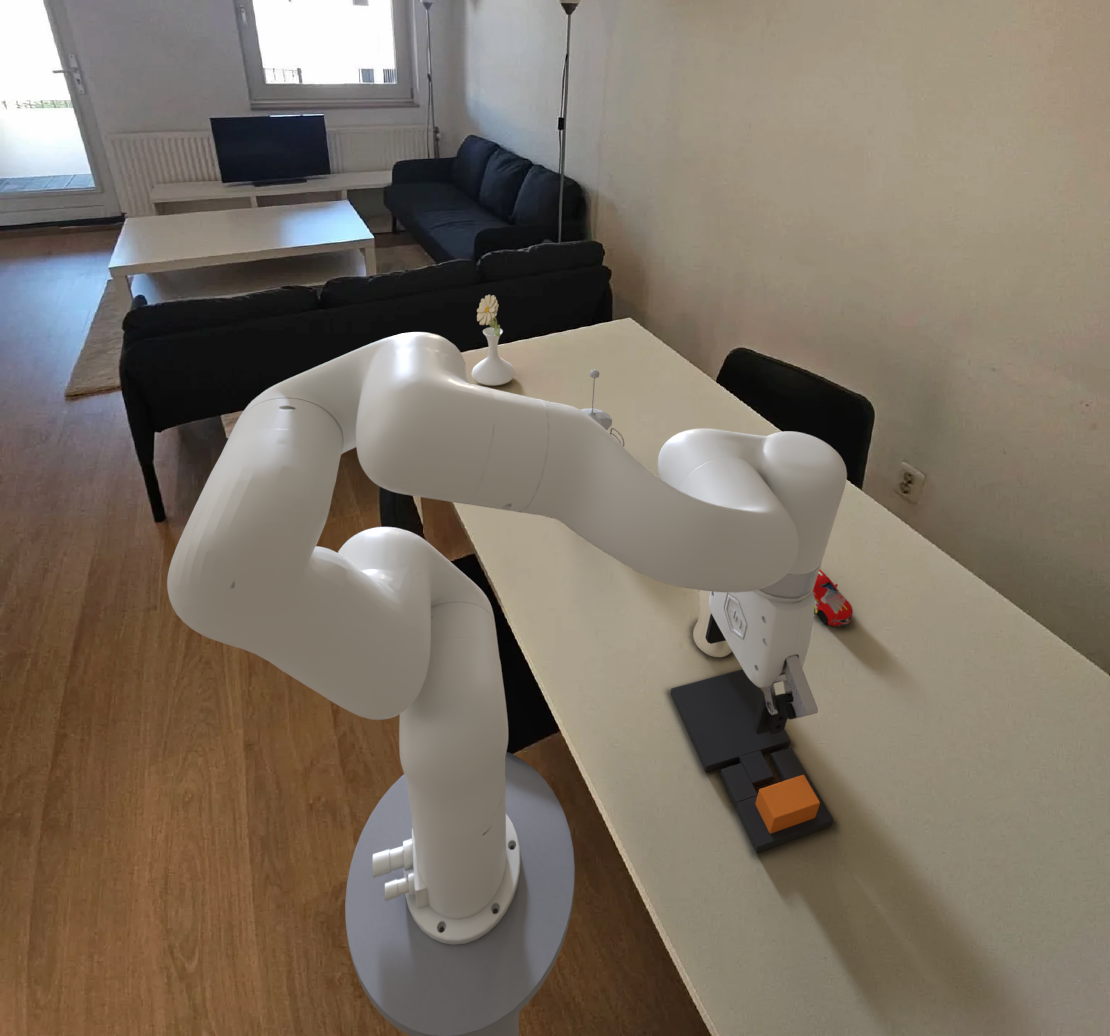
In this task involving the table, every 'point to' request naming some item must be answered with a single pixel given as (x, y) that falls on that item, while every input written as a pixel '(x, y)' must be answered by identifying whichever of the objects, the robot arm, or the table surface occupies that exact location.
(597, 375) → the french press
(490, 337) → the flower in vase
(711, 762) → the charcoal pad
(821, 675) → the table surface
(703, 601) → the beer glass
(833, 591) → the race car
